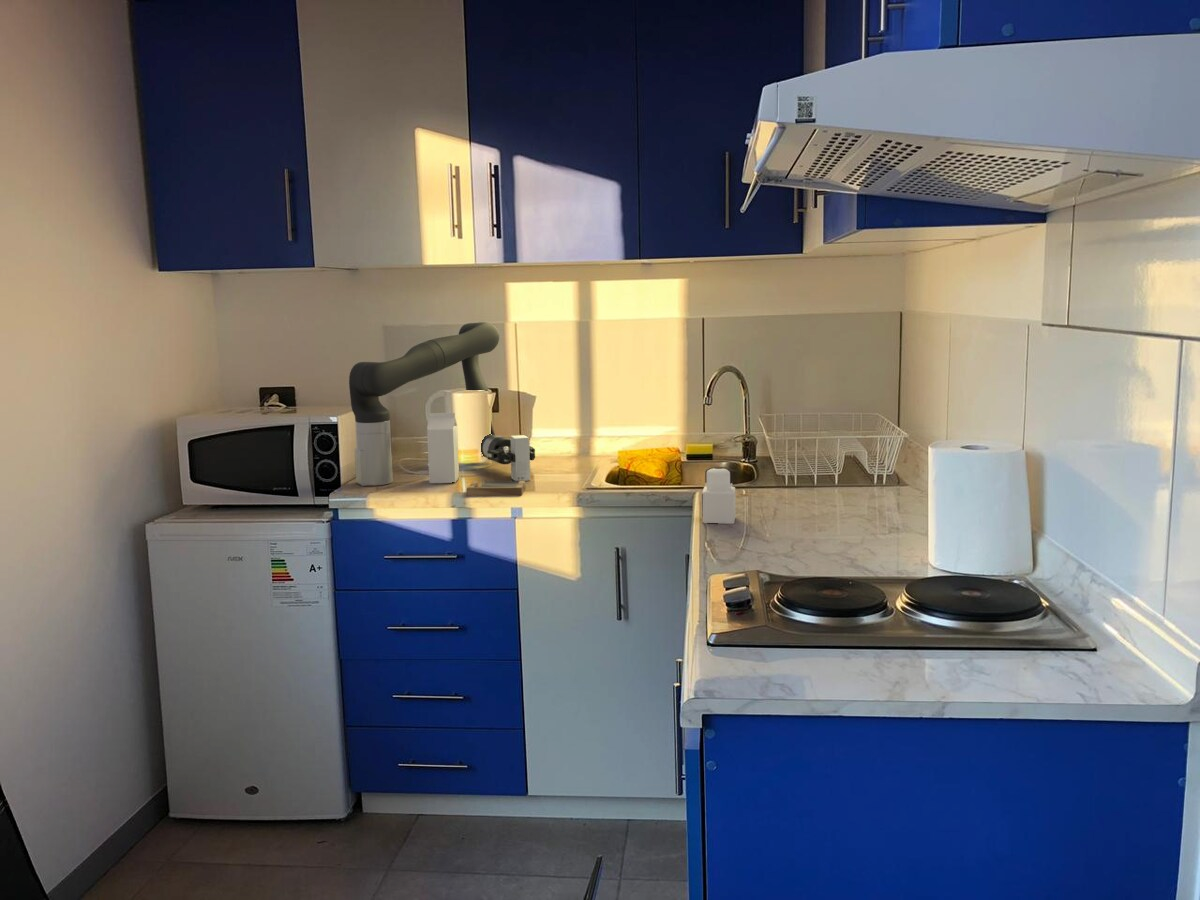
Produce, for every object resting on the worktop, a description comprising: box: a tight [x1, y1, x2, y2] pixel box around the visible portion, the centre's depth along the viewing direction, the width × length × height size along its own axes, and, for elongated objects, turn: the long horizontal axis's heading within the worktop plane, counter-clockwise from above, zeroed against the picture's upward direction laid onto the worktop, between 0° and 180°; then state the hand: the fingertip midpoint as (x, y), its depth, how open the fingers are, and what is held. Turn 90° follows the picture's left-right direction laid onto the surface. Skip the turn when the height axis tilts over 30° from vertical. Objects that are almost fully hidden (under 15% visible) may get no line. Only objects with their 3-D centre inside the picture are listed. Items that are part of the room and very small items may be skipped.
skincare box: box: [510, 434, 531, 482], centre depth 290 cm, size 6×4×12 cm
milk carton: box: [426, 412, 460, 484], centre depth 288 cm, size 7×7×19 cm
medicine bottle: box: [701, 466, 736, 525], centre depth 235 cm, size 7×7×12 cm
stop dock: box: [466, 480, 526, 497], centre depth 278 cm, size 18×14×2 cm
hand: (523, 457), depth 287 cm, fingers closed on skincare box, 5 cm apart
